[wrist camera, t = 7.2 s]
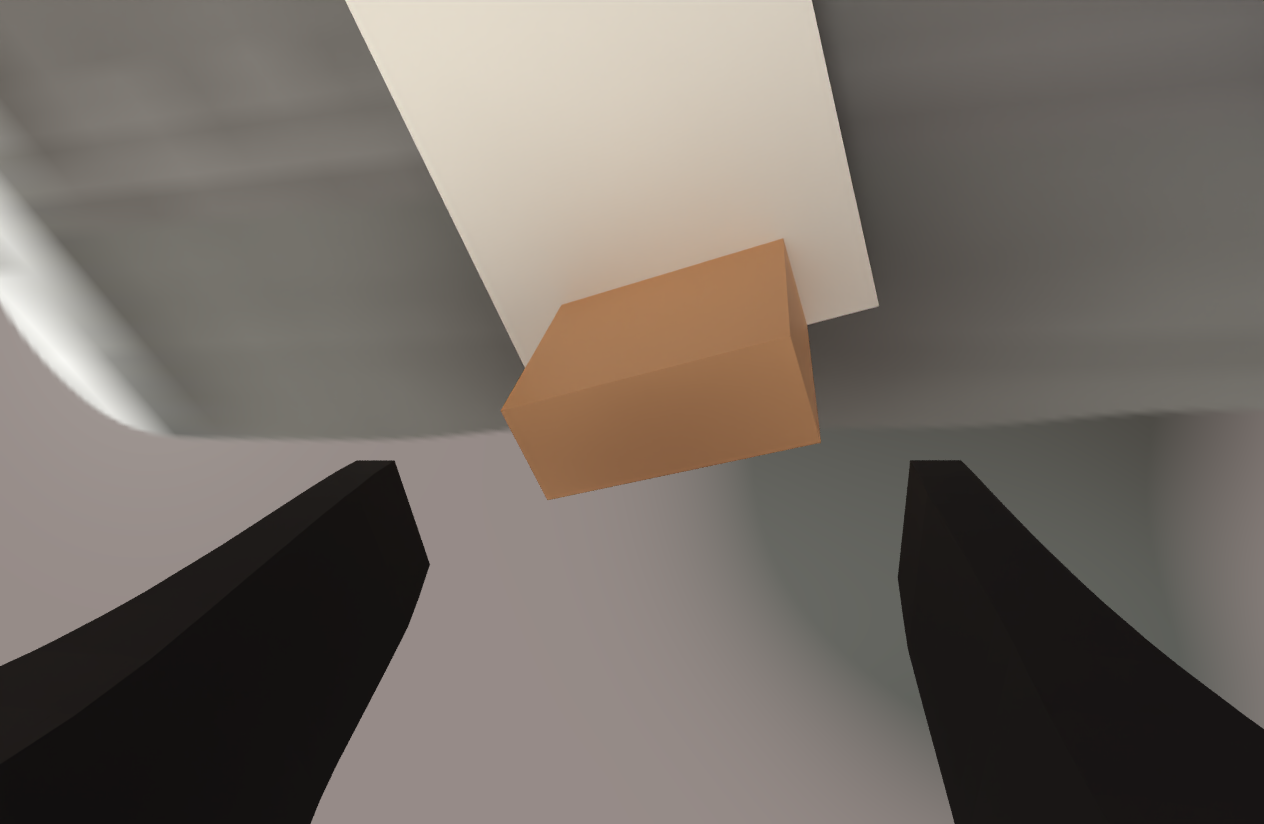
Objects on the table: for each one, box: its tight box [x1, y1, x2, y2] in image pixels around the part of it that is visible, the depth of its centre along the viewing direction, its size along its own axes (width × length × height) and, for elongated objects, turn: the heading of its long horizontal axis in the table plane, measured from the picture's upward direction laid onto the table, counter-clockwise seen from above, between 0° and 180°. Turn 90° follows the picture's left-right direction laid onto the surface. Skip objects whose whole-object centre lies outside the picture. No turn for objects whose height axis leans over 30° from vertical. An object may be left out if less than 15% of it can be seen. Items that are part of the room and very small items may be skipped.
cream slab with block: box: [345, 0, 879, 500], centre depth 12 cm, size 14×8×5 cm, turn 20°
